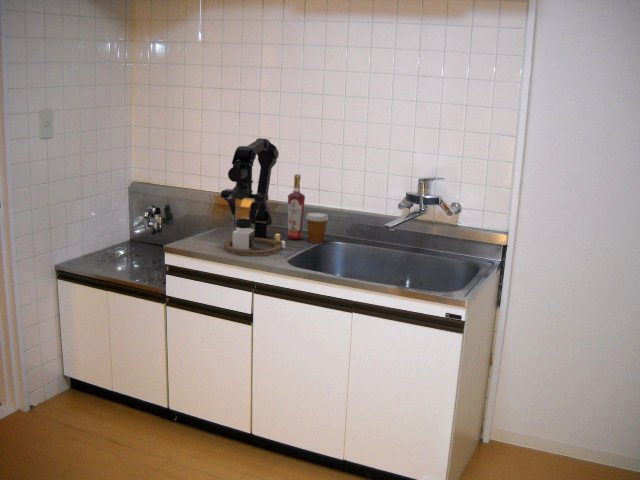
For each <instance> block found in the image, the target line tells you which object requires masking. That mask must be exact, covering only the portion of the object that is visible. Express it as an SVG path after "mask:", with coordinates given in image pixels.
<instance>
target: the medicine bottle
mask: <svg viewBox="0 0 640 480" xmlns="http://www.w3.org/2000/svg"><path fill="white" fill-rule="evenodd" d="M232 239H233V245H231V247H233V248H235V249H240V250H250V251H251V249H252V248H253V247H255V243H254V228H252V223H251V220H250V219H249V217H248V218H247V217H239V218H237V219H236V226H235V230H234V231H232Z"/></svg>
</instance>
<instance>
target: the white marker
mask: <svg viewBox="0 0 640 480" xmlns="http://www.w3.org/2000/svg"><path fill="white" fill-rule="evenodd" d="M280 244H281V249H286V241H285V240H280Z"/></svg>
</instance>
